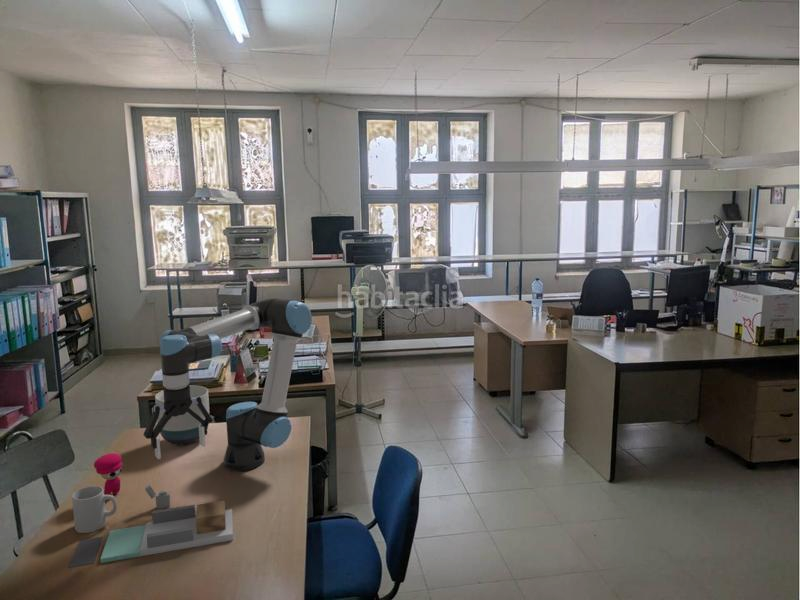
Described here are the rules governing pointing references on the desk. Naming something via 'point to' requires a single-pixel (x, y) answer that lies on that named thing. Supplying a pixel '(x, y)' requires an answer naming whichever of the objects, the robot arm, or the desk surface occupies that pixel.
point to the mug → (91, 509)
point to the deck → (180, 531)
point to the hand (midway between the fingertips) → (180, 451)
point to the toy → (109, 472)
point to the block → (211, 517)
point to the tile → (123, 544)
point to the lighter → (159, 497)
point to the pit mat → (86, 552)
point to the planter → (184, 419)
